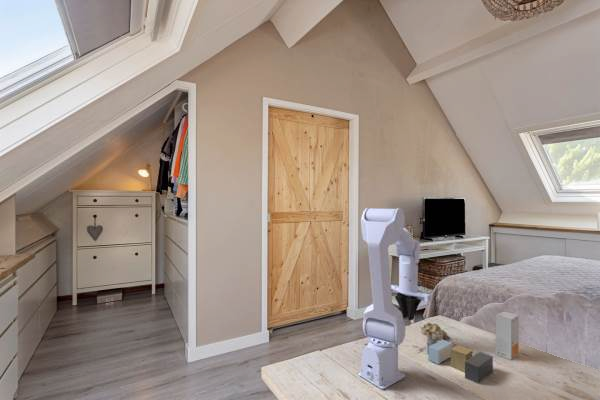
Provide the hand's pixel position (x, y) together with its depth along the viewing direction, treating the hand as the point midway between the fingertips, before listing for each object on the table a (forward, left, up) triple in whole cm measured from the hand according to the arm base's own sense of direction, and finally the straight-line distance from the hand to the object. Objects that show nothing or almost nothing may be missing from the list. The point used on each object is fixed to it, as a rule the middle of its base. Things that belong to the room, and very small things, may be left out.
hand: (408, 318), depth 97 cm
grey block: (0, -21, -8) cm, 23 cm away
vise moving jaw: (0, -10, -8) cm, 13 cm away
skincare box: (+19, -22, -9) cm, 30 cm away
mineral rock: (+14, -1, -9) cm, 17 cm away
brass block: (0, -17, -8) cm, 19 cm away
